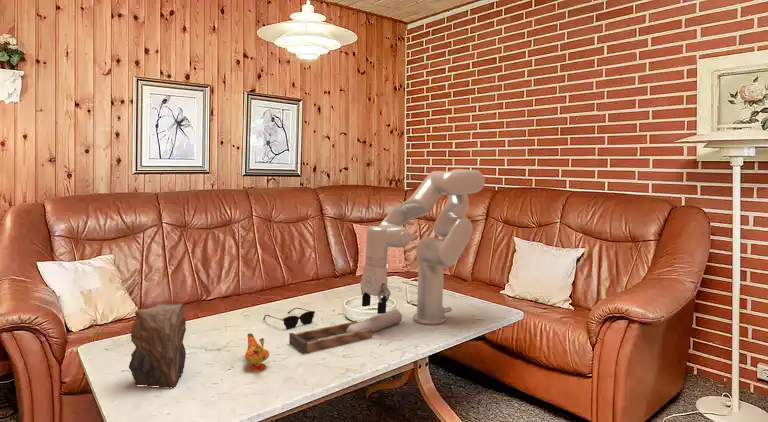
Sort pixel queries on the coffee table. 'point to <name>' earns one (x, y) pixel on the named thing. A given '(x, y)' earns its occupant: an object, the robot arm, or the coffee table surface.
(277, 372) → the coffee table surface
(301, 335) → the trap channel
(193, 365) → the coffee table surface
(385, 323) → the tube
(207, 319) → the coffee table surface
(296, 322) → the sunglasses
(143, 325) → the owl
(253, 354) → the magic lamp
